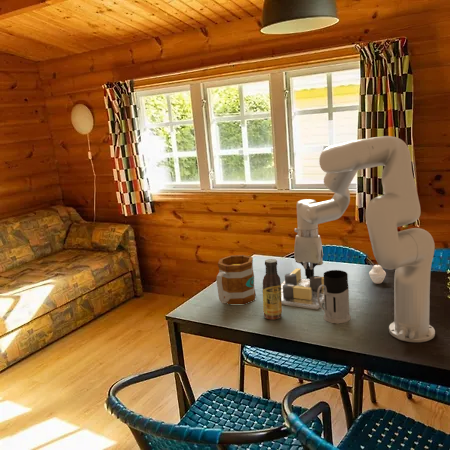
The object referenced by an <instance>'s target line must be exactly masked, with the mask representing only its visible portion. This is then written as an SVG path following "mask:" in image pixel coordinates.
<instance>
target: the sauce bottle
mask: <svg viewBox="0 0 450 450" xmlns="http://www.w3.org/2000/svg"><path fill="white" fill-rule="evenodd" d="M264 266H265V275H264V276H263V279H262V305H263V306H262V307H263V312H262V313H263V317H264V318H265V319H266V320H273V321H274V320H279V319H281V317H282V313H283V306H282V305H283V304H282V298H281V283H282V282H281V276H279V273H278V269H277V268H278V260H277V259H275V258H269V259H265V260H264Z"/></svg>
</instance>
